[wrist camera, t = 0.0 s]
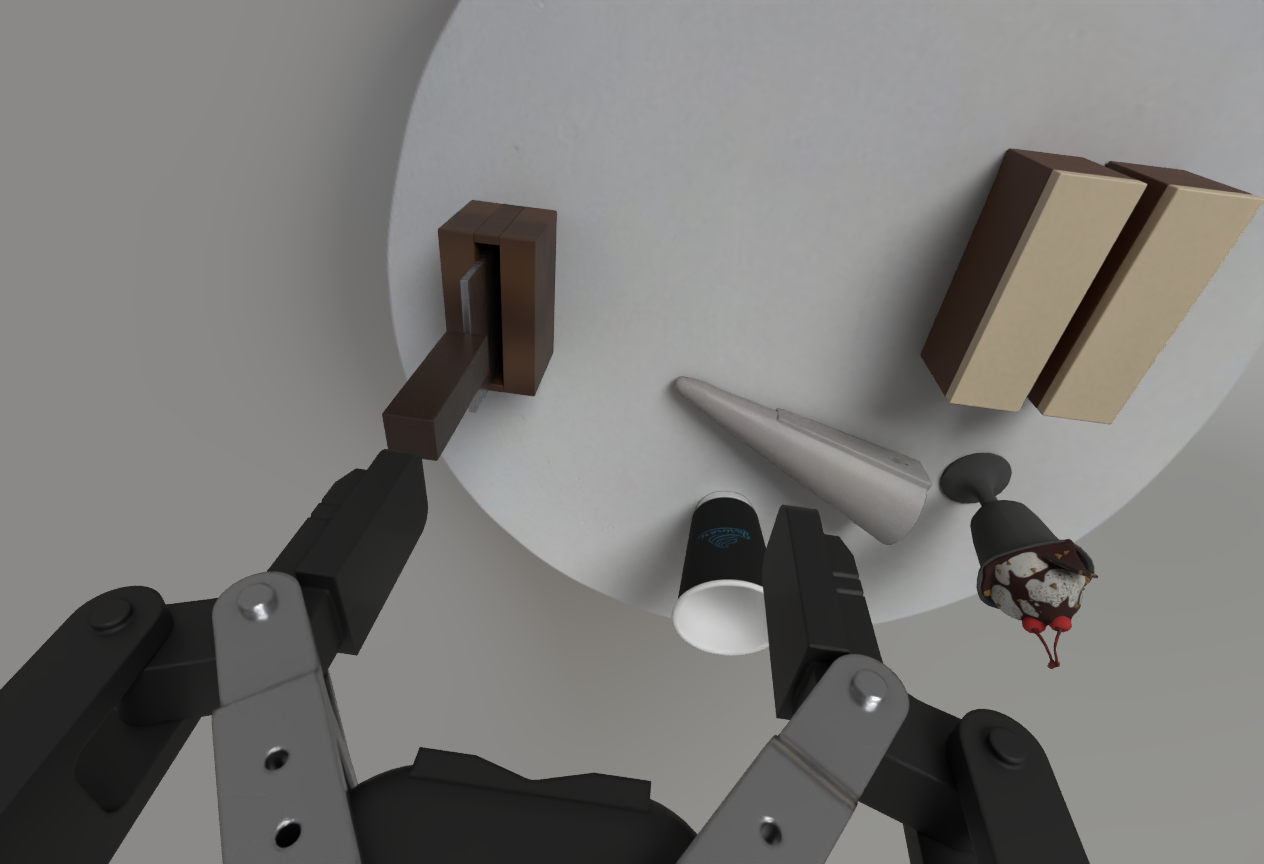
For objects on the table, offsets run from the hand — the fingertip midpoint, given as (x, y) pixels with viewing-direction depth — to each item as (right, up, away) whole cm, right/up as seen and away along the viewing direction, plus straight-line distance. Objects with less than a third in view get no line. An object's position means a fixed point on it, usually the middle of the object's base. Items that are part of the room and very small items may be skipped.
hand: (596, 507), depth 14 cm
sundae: (+27, -2, +33) cm, 43 cm away
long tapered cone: (+12, +1, +33) cm, 35 cm away
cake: (+26, +11, +24) cm, 37 cm away
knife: (-7, +12, +27) cm, 30 cm away
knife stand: (-7, +12, +27) cm, 30 cm away
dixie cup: (+9, -5, +37) cm, 39 cm away
